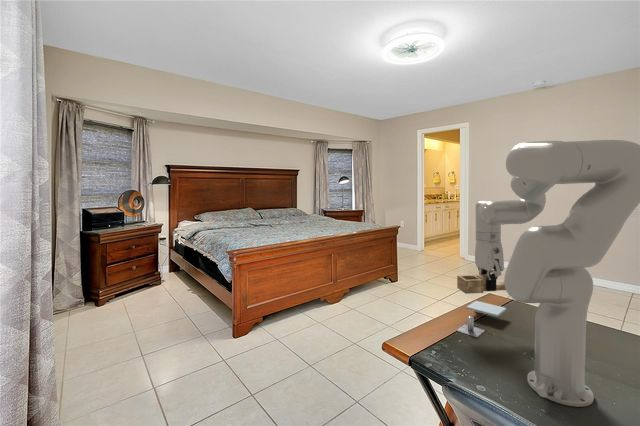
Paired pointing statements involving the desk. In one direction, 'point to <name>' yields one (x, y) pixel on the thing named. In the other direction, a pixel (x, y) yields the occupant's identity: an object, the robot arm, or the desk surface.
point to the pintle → (470, 328)
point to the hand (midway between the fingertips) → (487, 288)
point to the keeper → (486, 308)
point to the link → (475, 283)
